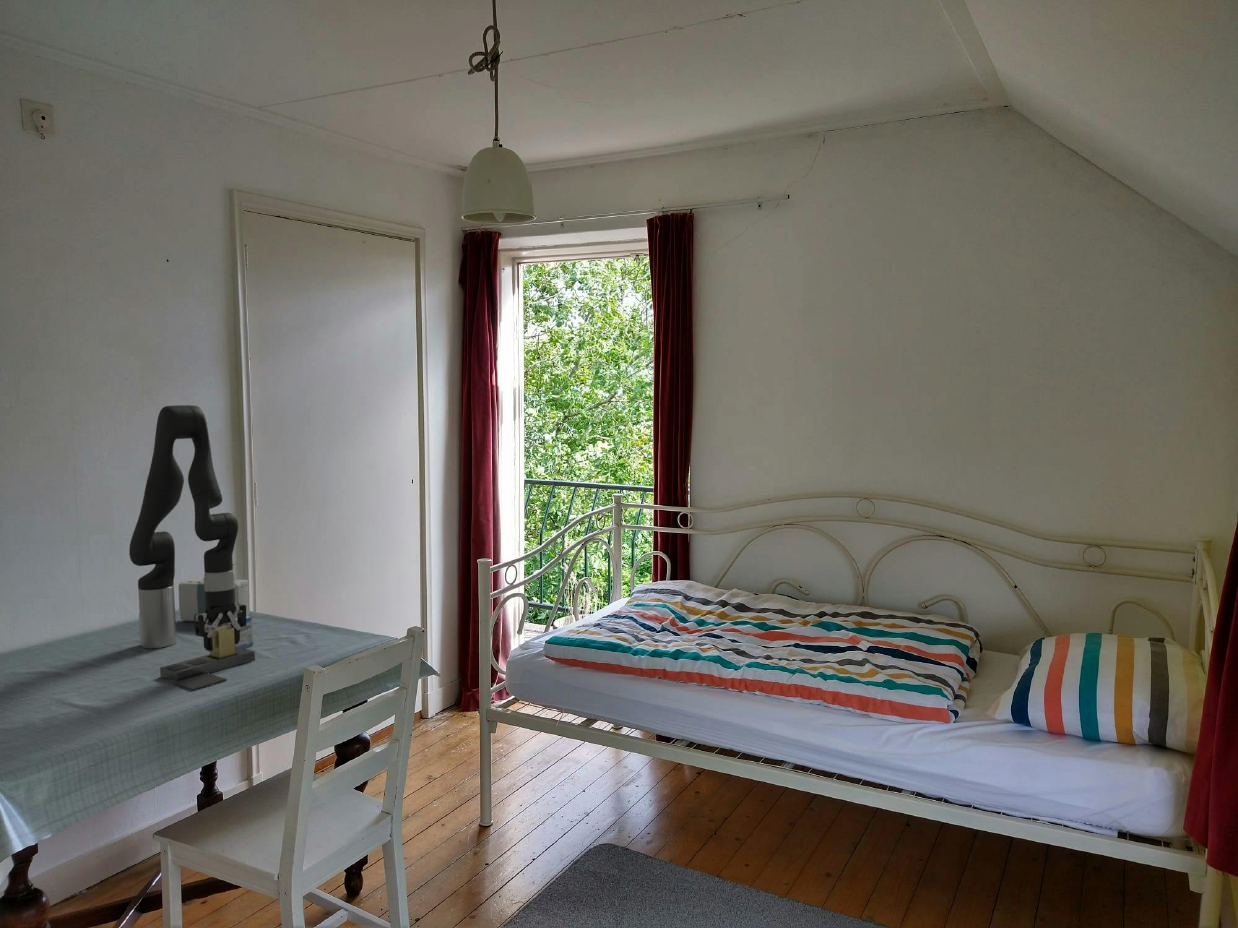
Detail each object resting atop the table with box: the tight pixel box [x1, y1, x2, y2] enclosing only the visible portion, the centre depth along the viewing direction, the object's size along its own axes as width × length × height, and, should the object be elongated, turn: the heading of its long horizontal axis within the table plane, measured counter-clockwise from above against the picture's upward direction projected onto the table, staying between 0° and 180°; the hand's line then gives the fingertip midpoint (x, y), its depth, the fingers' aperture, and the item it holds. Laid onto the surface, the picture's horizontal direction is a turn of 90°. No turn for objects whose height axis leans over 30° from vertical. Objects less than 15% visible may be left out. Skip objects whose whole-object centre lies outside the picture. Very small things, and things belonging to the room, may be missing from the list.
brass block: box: [209, 625, 235, 660], centre depth 235 cm, size 4×4×10 cm
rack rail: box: [159, 647, 256, 682], centre depth 232 cm, size 8×22×3 cm, turn 147°
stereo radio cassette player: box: [178, 559, 250, 623], centre depth 281 cm, size 21×8×20 cm, turn 80°
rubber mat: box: [172, 673, 227, 692], centre depth 221 cm, size 9×9×1 cm
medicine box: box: [221, 616, 254, 649], centre depth 250 cm, size 8×4×9 cm, turn 168°
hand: (222, 646), depth 235 cm, fingers open, 7 cm apart
